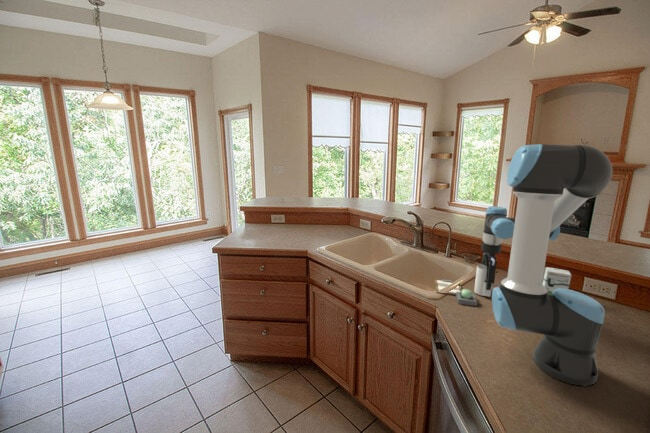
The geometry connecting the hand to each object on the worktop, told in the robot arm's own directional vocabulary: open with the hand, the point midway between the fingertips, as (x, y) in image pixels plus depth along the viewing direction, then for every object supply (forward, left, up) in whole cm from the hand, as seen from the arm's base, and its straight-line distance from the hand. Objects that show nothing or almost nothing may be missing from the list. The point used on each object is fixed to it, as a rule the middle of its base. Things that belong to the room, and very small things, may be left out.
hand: (484, 291), depth 135 cm
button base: (-10, +9, -1) cm, 13 cm away
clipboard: (0, +15, -1) cm, 15 cm away
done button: (-10, +9, +1) cm, 13 cm away
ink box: (+7, -29, -1) cm, 30 cm away
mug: (+1, 0, -1) cm, 1 cm away
